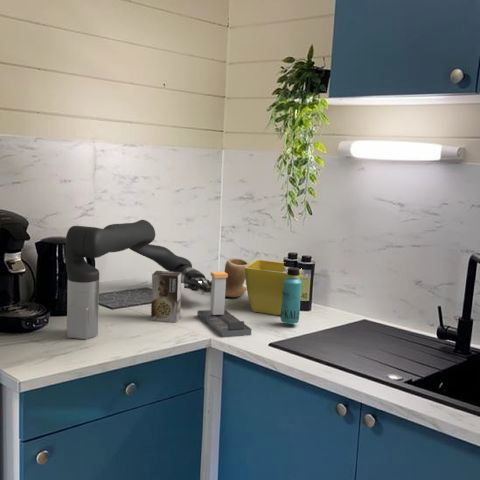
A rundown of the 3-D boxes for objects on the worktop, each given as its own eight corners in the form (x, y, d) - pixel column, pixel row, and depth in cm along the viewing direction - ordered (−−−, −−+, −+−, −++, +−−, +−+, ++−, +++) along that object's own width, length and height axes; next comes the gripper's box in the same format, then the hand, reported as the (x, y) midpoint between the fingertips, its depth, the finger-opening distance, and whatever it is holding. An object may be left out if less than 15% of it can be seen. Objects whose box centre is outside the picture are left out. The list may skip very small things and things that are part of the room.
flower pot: (302, 307, 232) (305, 264, 229) (292, 320, 214) (296, 273, 211) (254, 301, 237) (257, 259, 234) (241, 313, 219) (244, 267, 216)
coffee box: (180, 317, 208) (182, 271, 206) (176, 322, 202) (178, 275, 199) (154, 315, 209) (156, 269, 207) (150, 320, 203) (151, 273, 200)
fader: (225, 314, 207) (227, 274, 204) (212, 315, 205) (214, 274, 203) (221, 311, 210) (223, 271, 208) (208, 312, 208) (210, 272, 206)
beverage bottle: (286, 321, 211) (290, 265, 208) (302, 325, 207) (307, 268, 204) (276, 325, 206) (280, 267, 203) (292, 329, 202) (297, 271, 199)
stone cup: (241, 301, 236) (243, 263, 233) (213, 296, 240) (215, 259, 237) (253, 293, 250) (256, 257, 248) (227, 289, 254) (229, 254, 252)
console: (251, 335, 193) (252, 321, 193) (222, 337, 189) (222, 323, 189) (223, 314, 215) (224, 302, 214) (197, 316, 211) (197, 303, 210)
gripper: (176, 269, 228) (191, 279, 212) (209, 268, 233) (226, 278, 217) (175, 289, 229) (190, 300, 213) (208, 287, 234) (224, 299, 218)
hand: (208, 289), depth 215 cm, fingers closed
